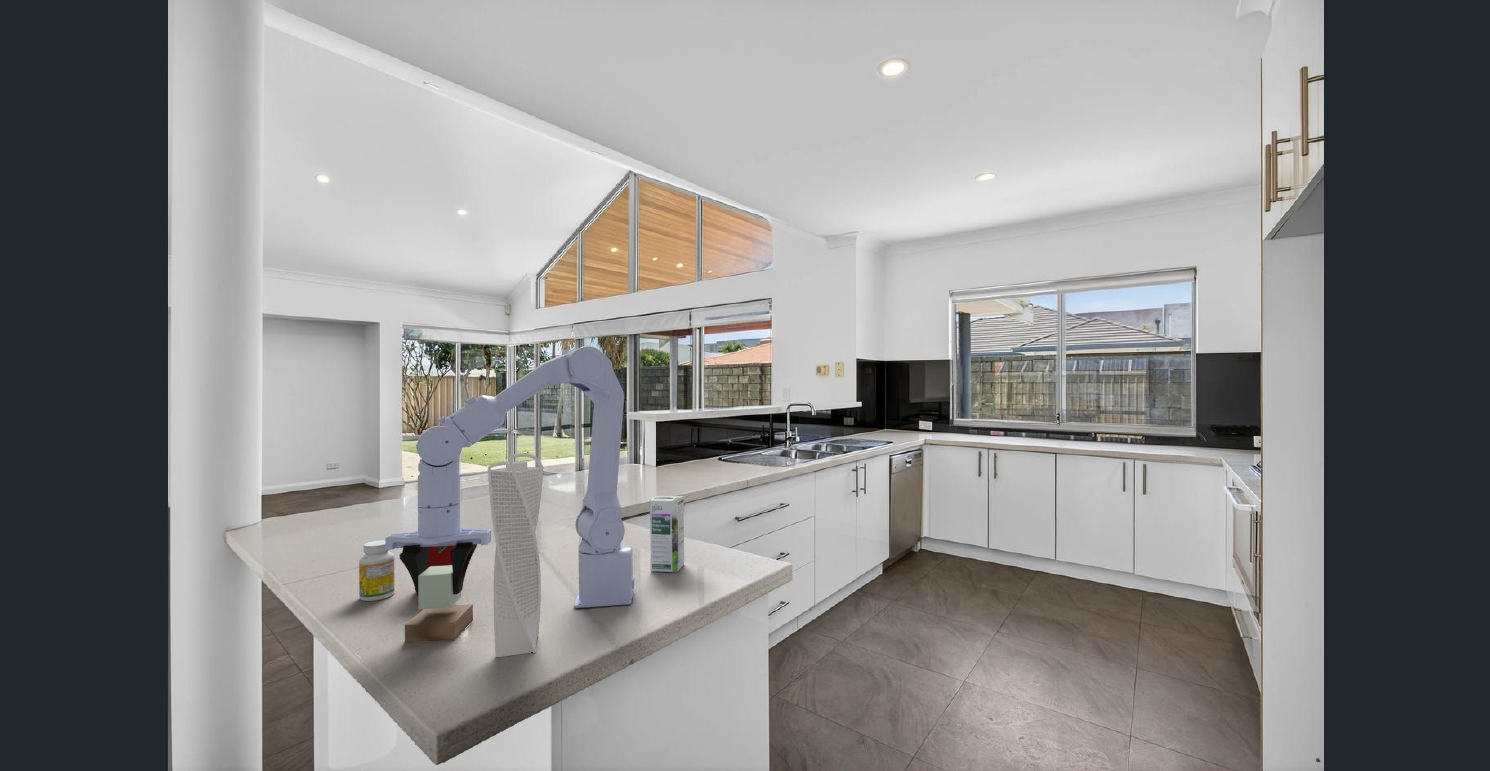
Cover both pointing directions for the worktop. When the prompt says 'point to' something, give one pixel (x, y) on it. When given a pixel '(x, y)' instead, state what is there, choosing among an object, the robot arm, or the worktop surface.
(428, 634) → the walnut block
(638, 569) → the worktop surface
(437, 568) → the sage block
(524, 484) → the skyscraper
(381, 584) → the supplement bottle
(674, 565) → the syrup box
